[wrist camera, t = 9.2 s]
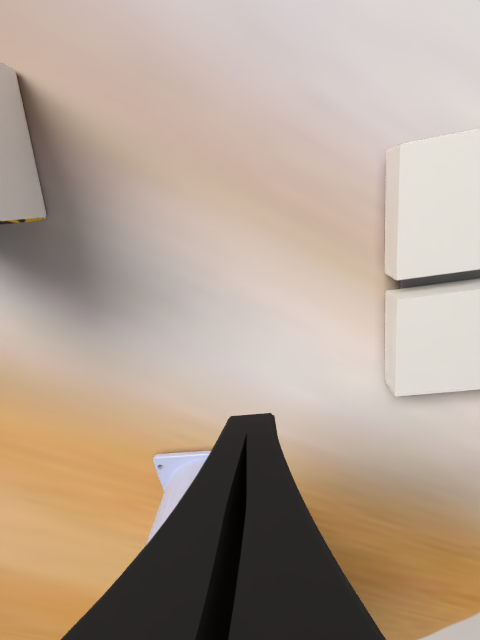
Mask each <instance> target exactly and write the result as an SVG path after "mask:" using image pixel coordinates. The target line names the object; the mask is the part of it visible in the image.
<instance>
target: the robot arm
mask: <svg viewBox="0 0 480 640" xmlns="http://www.w3.org/2000/svg"><path fill="white" fill-rule="evenodd" d="M153 463H154V466H155V468H156V471H157V474H158V477H159V479H160V482H161V485H162V487H163V490H164V495H163V498H162V501H161V504H160V506H159V509H158V512H157V515H156V518H155V521H154V524H153V526H152V529H151V532H150V535H149V538H148V541H147V543H146V546H145V547H144V549H143V550H142V551H141V552H140V553H139V554H138V556H137V557H136V558H135V559H134V560H133V562H132V563H131V564H130V565H129V566H128V568H127V569H126V570H125V571H124V572H123V573H122V575H121V576H120V577H119V578H118V579H117V580H116V581H115V583H114V584H113V585H112V586H111V587H110V588H109V589H108V590H107V591H106V593H105V594H104V595H103V596H102V597H101V598H100V599H99V600H98V601H97V602H96V603H95V604H94V605H93V606H92V607H91V609H90V610H89V611H88V612H87V613H86V614H85V615H84V616H83V617H82V618H81V619H80V620H79V621H78V622H77V623H76V624H75V625H74V626H73V627H72V628H71V629H70V630H69V631H68V633H67V634H66V635H65V636H64V637H63V638H62V639H61V640H386V639H385V637H384V636H383V634H382V633H381V632H380V630H379V628H378V627H377V625H376V624H375V622H374V621H373V619H372V617H371V616H370V614H369V613H368V611H367V610H366V608H365V606H364V605H363V603H362V602H361V600H360V598H359V597H358V595H357V594H356V592H355V591H354V589H353V587H352V586H351V584H350V583H349V581H348V580H347V578H346V576H345V575H344V573H343V572H342V570H341V568H340V566H339V565H338V563H337V561H336V560H335V558H334V556H333V555H332V553H331V551H330V549H329V548H328V546H327V544H326V542H325V541H324V539H323V537H322V535H321V533H320V532H319V530H318V528H317V526H316V524H315V522H314V520H313V519H312V517H311V515H310V513H309V511H308V509H307V507H306V505H305V503H304V501H303V499H302V497H301V495H300V492H299V490H298V488H297V486H296V484H295V482H294V479H293V477H292V475H291V472H290V470H289V467H288V465H287V462H286V460H285V458H284V455H283V452H282V449H281V446H280V443H279V440H278V436H277V430H276V424H275V417H274V415H272V414H271V413H266V414H253V415H241V416H231V417H230V418H229V419H228V421H227V423H226V425H225V427H224V429H223V431H222V433H221V434H220V436H219V438H218V440H217V442H216V444H215V445H214V447H213V449H212V451H196V452H181V453H165V454H157V455H155V457H154V459H153Z"/></svg>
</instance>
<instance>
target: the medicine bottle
mask: <svg viewBox="0 0 480 640" xmlns="http://www.w3.org/2000/svg"><path fill="white" fill-rule="evenodd" d="M45 218H46V210H45V205H44V200H43V196H42V191H41V186H40V182H39V177H38V172H37V168H36V163H35V159H34V154H33V149H32V145H31V140H30V135H29V131H28V126H27V122H26V117H25V112H24V108H23V103H22V98H21V94H20V89H19V85H18V80H17V75H16V73H15V70H14V69H13V68H12V67H11V66H10V65H8V64H6V63H4V62H3V61H1V60H0V224H10V223H21V222H32V221H41V220H44V219H45Z"/></svg>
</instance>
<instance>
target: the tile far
mask: <svg viewBox="0 0 480 640" xmlns="http://www.w3.org/2000/svg"><path fill="white" fill-rule="evenodd" d="M385 382H386V384H387V385H388V387H389V388H390V390H391V391H392V393H393V394H394V396H395V397H396V396H408V395H420V394H431V393H443V392H455V391H467V390H478V389H480V278H477V279H470V280H462V281H455V282H447V283H440V284H432V285H425V286H417V287H410V288H402V289H395V290H387V291H385Z"/></svg>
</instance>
